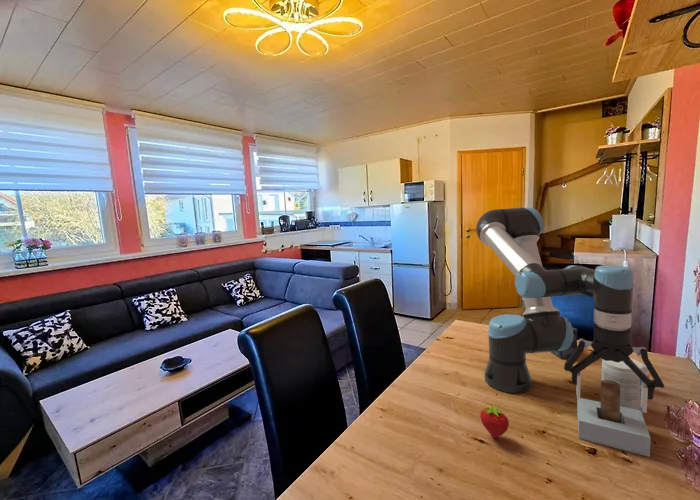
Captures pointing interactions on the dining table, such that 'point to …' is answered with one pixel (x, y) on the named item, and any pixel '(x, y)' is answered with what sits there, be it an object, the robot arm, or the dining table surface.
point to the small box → (570, 350)
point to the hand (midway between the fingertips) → (609, 402)
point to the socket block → (613, 428)
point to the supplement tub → (625, 382)
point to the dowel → (610, 401)
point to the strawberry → (494, 421)
